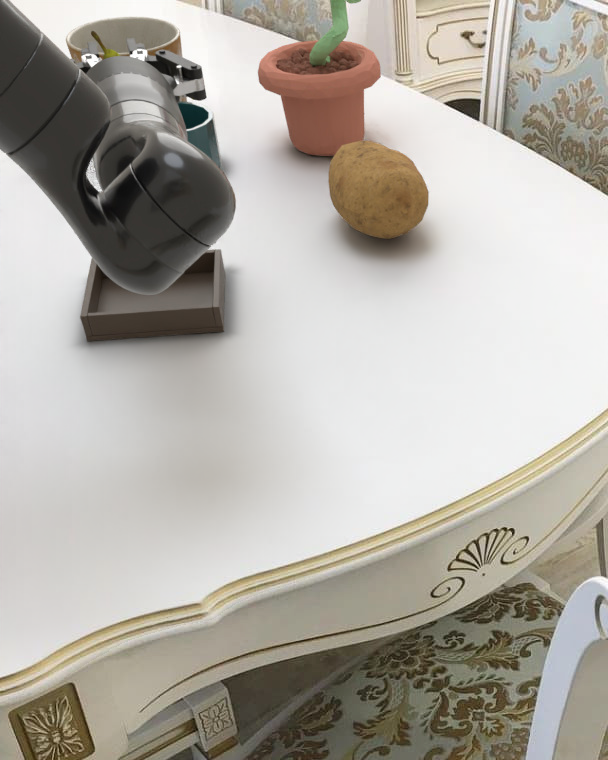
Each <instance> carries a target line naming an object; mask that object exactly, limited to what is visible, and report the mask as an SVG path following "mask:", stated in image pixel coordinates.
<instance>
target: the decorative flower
mask: <svg viewBox="0 0 608 760" xmlns="http://www.w3.org/2000/svg"><path fill="white" fill-rule="evenodd" d="M361 1H362V0H329V3H330V4H329V5H330V11H331V21H332V22H331V23H332V26H331V27H330V29H329V30H327V32H326V33H324V35H323V36H321V38H319V39H316V40H305V41H297V42H292V43H289V44H283V45H280V46H279V47H277V48H274V49H272V50H271V51H268V52H267V53H266V54H265V55H264V56H263V57H262V58H261V59H260V61H259V63H258V69H257V76H258V83H259V84H260V85H261V86H262V88H264V90H265V91H267V92H270V93H273V94H276V95H278V96H280V100H281V103H282V108H283V112H284V117H285V121H286V122H285V123H286V127H287V130H288V136H289V139H290V142H291V143H292V145H293V147H294V148H295V149H296V150H298V151H300V152H302V153H304V154H306V155H308V156H309V155H311V156H322V157H332V156H333V157H334V155H335V154H336V152H337V151H338V150H339V149H340V147H341V146H342V145H345V144H349V143H352V142H356V141H364V137H365V134H366V133H365V132H366V131H365V130H366V129H365V90H366V89H369V88H371V87H373V85H375V84H376V83H377V82H378V80H380V78H382V77H381V64H380V61H379V59H378V57H377V56H376V53H375V52H374V51H373V50H371V49H369V48H368V47H366V46H364V45H363V44H360V43H356V42H353V41H348V40H345V39H346V38H347V35H348V32H349V29H350V27H349V18H348V9H347V3H348V4H351V5H352V4H353V5H354V4H358V3H360V2H361ZM346 2H347V3H346Z"/></svg>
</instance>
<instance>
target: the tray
mask: <svg viewBox="0 0 608 760" xmlns="http://www.w3.org/2000/svg"><path fill="white" fill-rule="evenodd" d="M225 283H226V270H225V265H224V259H223V254H222V249H220V248H219V249H217V248H216V249H208V250H207V251H206V252H205V253H204V254H203V255H202V256H201V257H200V258H199V259H198V260H196V261H195V262H194V263H193V264H192V265H191V266H190V267H189V268H188V269H187V270H186V271H185V272H184V273H183V274H182V275H181V276H180V277H179V278H178V279H177V280H176V281H175V282H174V283H173V284H172V285H171V286H170V287H169V288H167V289H166V290H165V291H163V292H161V293H159V294H156V295H142V294H137V293H134V292H130V291H128V290H126V289H124V288H122V287H120V286H119V285H117V284H116V283H114V282H113V281H112V280H111V279H110V278H108V277H107V276H106V274H105V273H104V272H103V271H102V270H101V269H100V267H99V266H98V265H97V264H96V262H95V261H94V260H93V258H92V257H91V259H90V264H89V269H88V275H87V279H86V286H85V289H84V290H85V291H84V296H83V300H82V306H81V310H80V314H79V315H80V316H79V319H80V321H81V326H82V328H83V331H84V335H85V339H86V341H87V342H95V341H106V340H107V341H108V340H110V341H111V340H122V339H136V338H150V337H151V338H152V337H166V336H179V335H192V334H194V335H195V334H206V333H222V332H225V295H226V294H225V291H226V290H225V289H226V284H225Z"/></svg>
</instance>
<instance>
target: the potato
mask: <svg viewBox="0 0 608 760" xmlns="http://www.w3.org/2000/svg"><path fill="white" fill-rule="evenodd" d="M327 178H328V190H329V197H330V200H331V203H332V205H333V207H334V208H335V210H336V212H337V213H338V214H339V216H340V217H341V218H342V220H344V221H345V222H346V223H347V224H348V225H349V226H350V227H352V228H353V229H354V230H355V231H357V232H359V233H361V234H364V235H368V236H371V237H373V238H379V239H384V240H385V239H386V240H390V239H395V238H398V237H401V236H403V235H404V236H405V235H406V234H408V233H410V232H411V231H412V230H414V229H415V228H416V227H417V226H418V225H419V224H420V223H421V222H422V221H423V219H424V217H425V214H426V212H427V209H428V207H429V199H430V197H429V193H430V191H429V190H428V186H427V184H426V182H425V180H424V177H423V175H422V174H421V172H420V171H419V169H418V167H417V166H416V165H415V163H414V161H413V160H412V159H410V158H409V156H407V154H404V153H402V152H400V151H399V150H396V149H392V148H390V147H387V146H385V145H383V144H381V143H378V142H375V141H371V140H363V141H356V142H352V143H349V144H345V145H342V146H341V147H340V149H339V150H338V151H337V152H336V154H335V155H334V156H333V157H332V158H331V159H330V163H329V167H328V177H327Z"/></svg>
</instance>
